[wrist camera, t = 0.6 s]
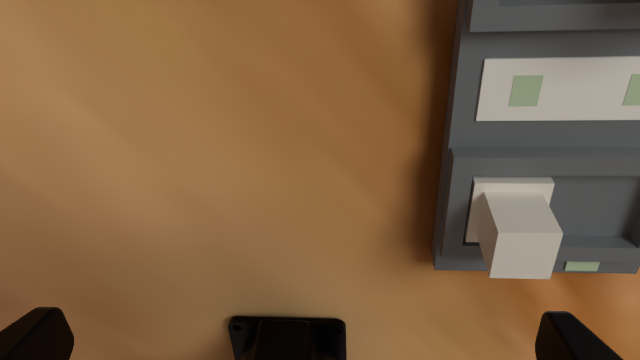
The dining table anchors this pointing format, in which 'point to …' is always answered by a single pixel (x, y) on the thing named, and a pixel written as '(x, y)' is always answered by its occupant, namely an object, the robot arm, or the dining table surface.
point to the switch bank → (547, 124)
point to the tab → (514, 225)
